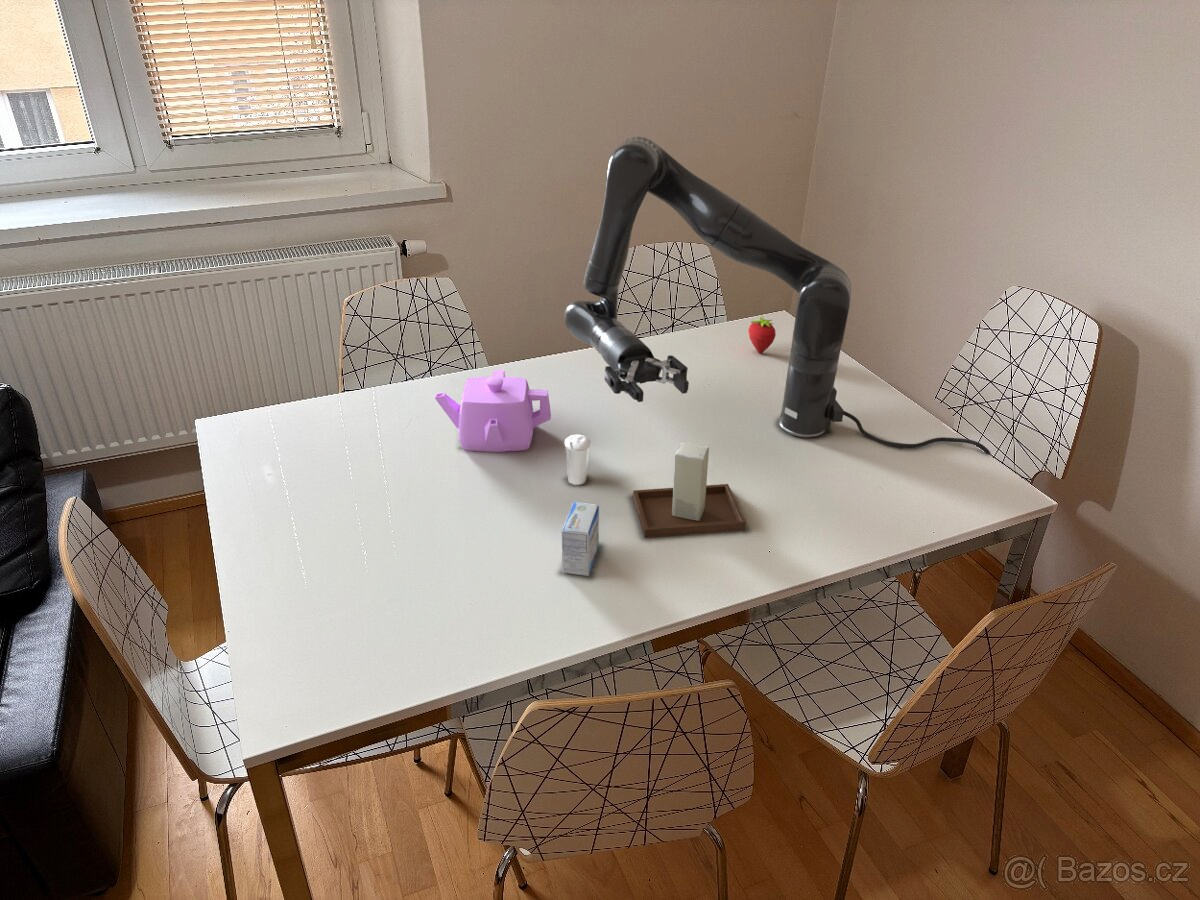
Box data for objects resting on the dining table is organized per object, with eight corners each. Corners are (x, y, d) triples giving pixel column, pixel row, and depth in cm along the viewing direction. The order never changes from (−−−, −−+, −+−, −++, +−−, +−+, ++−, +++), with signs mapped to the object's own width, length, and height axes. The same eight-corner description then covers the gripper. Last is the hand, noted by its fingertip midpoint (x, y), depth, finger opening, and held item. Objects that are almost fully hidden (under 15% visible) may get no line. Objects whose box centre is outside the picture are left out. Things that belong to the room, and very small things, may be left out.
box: (705, 508, 153) (711, 446, 146) (699, 522, 150) (705, 460, 143) (676, 502, 155) (681, 440, 148) (669, 516, 151) (674, 453, 144)
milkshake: (558, 486, 159) (558, 439, 153) (570, 470, 163) (570, 424, 157) (581, 492, 157) (582, 445, 152) (593, 476, 161) (594, 430, 156)
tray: (727, 491, 158) (728, 483, 157) (744, 530, 149) (746, 522, 148) (632, 498, 156) (632, 490, 155) (644, 537, 147) (644, 529, 146)
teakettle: (558, 435, 173) (557, 379, 167) (493, 469, 163) (490, 412, 156) (500, 405, 183) (497, 351, 176) (435, 436, 172) (430, 380, 166)
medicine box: (588, 577, 138) (589, 534, 133) (561, 573, 139) (561, 530, 134) (599, 546, 144) (600, 504, 140) (572, 542, 145) (572, 500, 140)
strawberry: (754, 361, 202) (759, 322, 196) (741, 347, 208) (745, 308, 202) (777, 359, 203) (783, 319, 198) (764, 345, 209) (769, 306, 204)
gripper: (590, 340, 159) (627, 380, 147) (660, 329, 164) (702, 367, 152) (589, 377, 163) (625, 419, 151) (657, 364, 168) (698, 404, 156)
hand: (664, 393), depth 151 cm, fingers open, 8 cm apart
